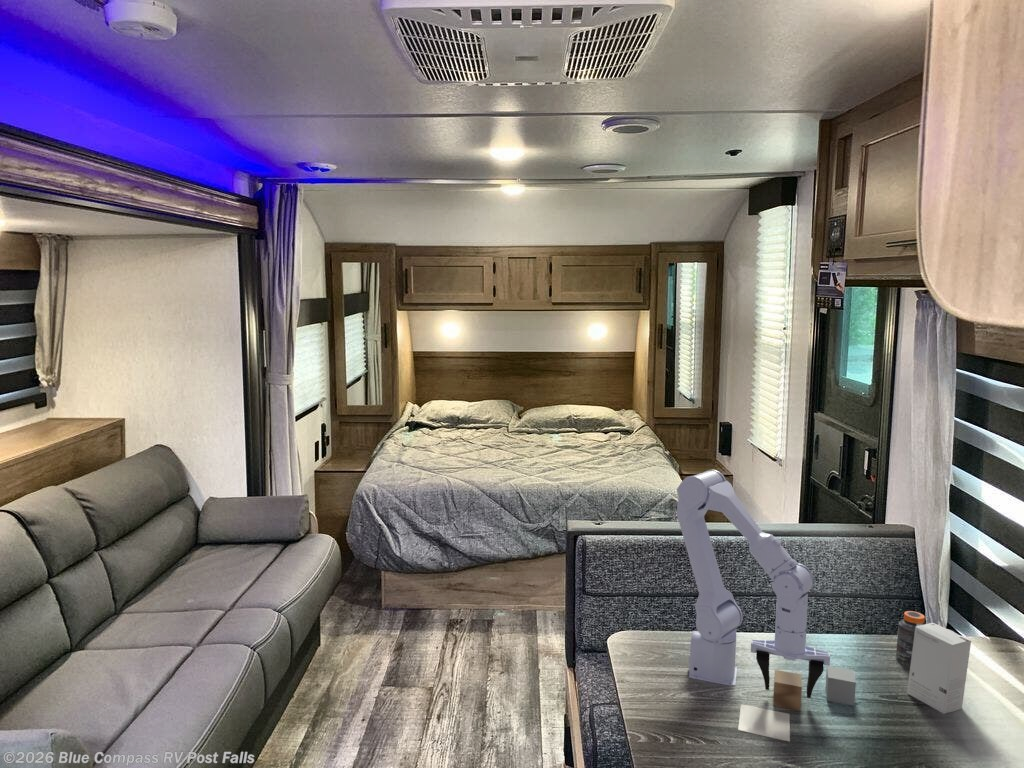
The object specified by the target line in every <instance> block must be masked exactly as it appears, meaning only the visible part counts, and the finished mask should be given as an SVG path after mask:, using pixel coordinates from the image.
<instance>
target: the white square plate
mask: <svg viewBox="0 0 1024 768" xmlns="http://www.w3.org/2000/svg"><path fill="white" fill-rule="evenodd" d="M739 709H740V711H739V720H738V727H737V731H740V732H744V733H749V734H752V735H753V734H754V735H759V736H762V737H767V738H771V739H776V740H781V741H785V742H789V743H790V742H791V738H790V737H791V727H790V725H791V719H790V718H791V716H790V714H791V713H787V712H781V711H777V710H771V709H767V708H764V707H763V708H762V707H756V706H752V705H747V704H740V708H739Z"/></svg>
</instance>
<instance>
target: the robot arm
mask: <svg viewBox="0 0 1024 768" xmlns="http://www.w3.org/2000/svg"><path fill="white" fill-rule="evenodd" d="M734 490H735V489H734V488H733V485H732V483H730V482H729V480H727V479H726V477H725V476H724V474H722V472H720V471H718V470H716V469H707V470H705V471H704V472H700V473H697V474H694V475H690V476H686V477H685V478H684V479H683V480H681V483H680V484H679V485H678V487H677V488H676V493H677V496H678V499H677V506H676V507H677V508H676V516H677V520H678V523H679V527H680V530H681V534H682V538H683V541H684V545H685V548H686V552H687V555H688V558H689V562H690V566H691V570H692V573H693V577H694V580H695V583H696V587H697V590H698V597H697V599H696V603H695V605H694V609H695V613H696V614H695V615H696V617H695V625H696V626H695V627H696V629H697V630H692V632H691V637H690V647H689V648H690V649H689V659H688V663H689V675H688V677H689V679H694V680H699V681H704V682H705V681H706V682H709V683H714V684H716V683H717V684H720V685H724V686H725V685H726V686H730V687H735V686H736V684H737V676H738V667H737V666H736V654H737V628H738V627H740V626H741V624H742V622H743V612H742V610H741V608H740V606H739V605H738V604H737V602H736V601H735V598H734V595H733V593H732V592H731V591H730V590H728V589H727V588H725V585H724V582H723V578H722V574H721V571H720V568H719V565H718V561H717V558H716V555H715V550H714V546H713V544H712V540H711V536H710V533H709V530H708V526H707V523H706V520H705V515H706V514H707V512H708V511H714V512H719V513H722V515H724V516H725V517H726V518H727V520H728V521H729V522H730V523H731V524H732V525H733V526H734V527H735V528H736V529H737V531H739V532H740V534H741V535H742V536H743V537H744V538H745V539H746V540H747V542H748V544H749V547H748V552H749V553H750V554H751V555H752V556H753V558H754V559H755V560H756V562H757V563H758V564H759V565H760V567H761V568H762V569H763V571H764V572H765V573H766V574H767V575H768V577H769V578H770V579H771V580H772V581H771V587H772V590H773V592H774V594H775V596H776V605H775V607H776V608H775V625H774V626H775V627H774V629H775V630H774V639H770V640H769V639H750V653H753V654H756V656H755V659H756V662H757V664H758V666H759V668H760V670H761V674H762V677H763V682H764V686H765V687H764V688H765V691H770V655H773V656H779V657H783V658H784V660H787V661H793V662H794V661H796V660H802V661H807V662H808V673H807V674H808V676H807V684H806V698H807V699H808V698H809V699H811V698H812V694H813V690H814V688H815V685H816V683H817V681H818V680H819V678H820V677H821V675H823V673H824V668H825V667H824V666H826V667H827V666H831V652H829V651H826V650H822V649H817V648H815V647H811V646H809V645H807V625H808V606H809V605H808V604H809V603H808V598H809V593H808V592H809V591H810V590H811V589H812V587H813V584H814V577H813V573H812V572H811V571H810V569H809V568H808V567H807V566H806V565H805V564H803V563H798V562H797V560H796V559H793V558H792V556H791V555H790V554H789V553H788V552H787V550H786V549H785V548H784V547H783V546H782V545H781V544H782V541H781V539H780V538H779V537H775V536H774V535H773V534H771V533H767V532H764V531H763V530H762V529H761V527H760V526H759V525H758V524H757V522H756V521H755V520H754V518H753V517H752V516H751V514H750V513H749V512H748V510H747V509H746V507H745V506H744V504H743V503H742V502H741V500H740V499H739V498H738V495H736V493H735V491H734Z"/></svg>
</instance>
